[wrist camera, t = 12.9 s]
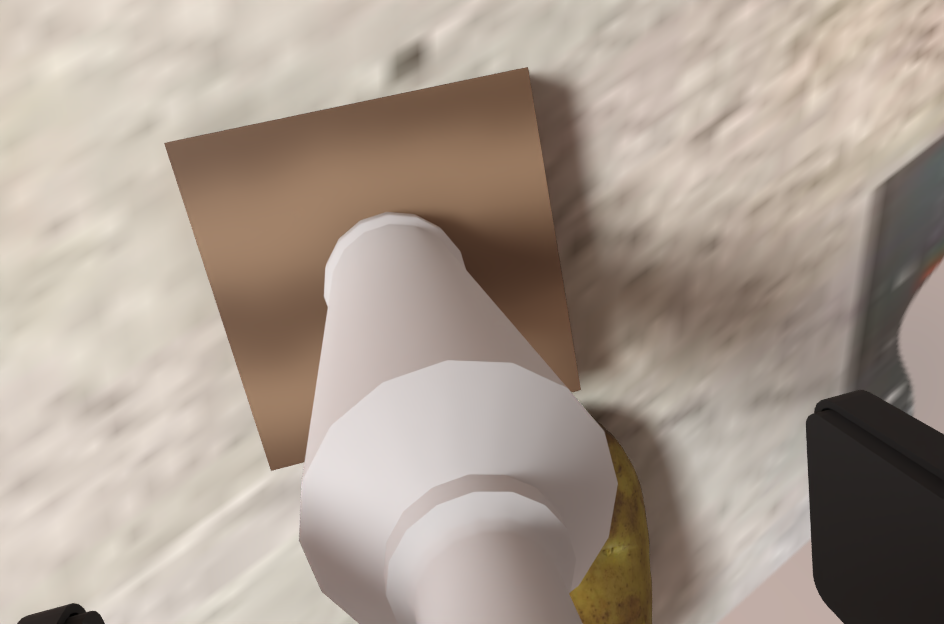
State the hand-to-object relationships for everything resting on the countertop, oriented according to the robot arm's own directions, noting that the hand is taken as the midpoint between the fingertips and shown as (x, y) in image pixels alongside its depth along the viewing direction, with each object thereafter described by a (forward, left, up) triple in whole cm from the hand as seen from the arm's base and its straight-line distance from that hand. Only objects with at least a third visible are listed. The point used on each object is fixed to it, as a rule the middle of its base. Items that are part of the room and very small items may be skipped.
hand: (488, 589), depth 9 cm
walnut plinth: (0, 0, -22) cm, 22 cm away
